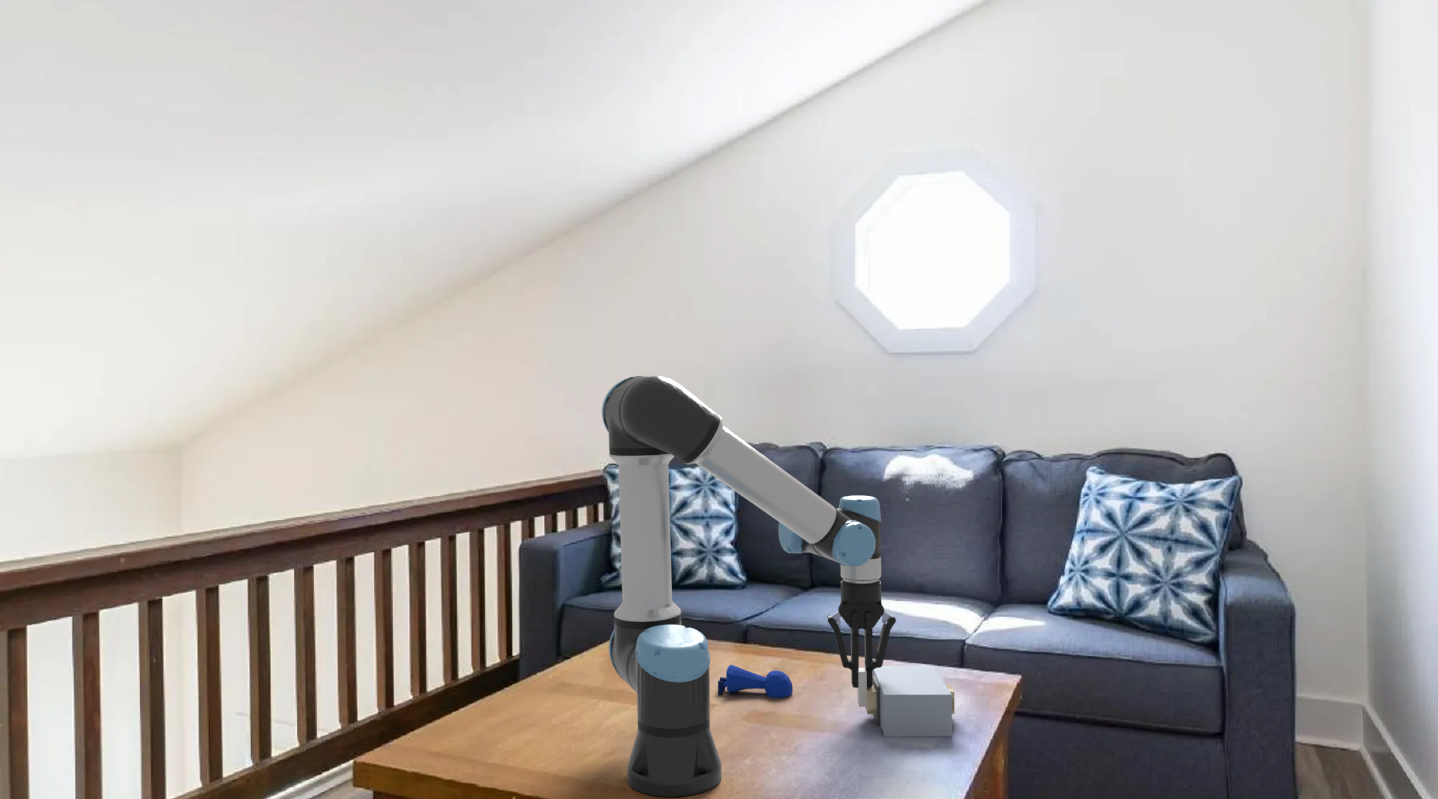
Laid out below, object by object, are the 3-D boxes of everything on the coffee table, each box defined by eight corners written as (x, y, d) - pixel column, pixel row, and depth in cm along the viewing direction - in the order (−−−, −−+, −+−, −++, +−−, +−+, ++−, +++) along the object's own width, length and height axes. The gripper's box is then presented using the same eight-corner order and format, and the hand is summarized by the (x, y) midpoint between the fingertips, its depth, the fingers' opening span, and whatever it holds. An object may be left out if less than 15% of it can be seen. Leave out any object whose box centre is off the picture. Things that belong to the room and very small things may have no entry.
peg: (954, 714, 187) (954, 691, 187) (867, 714, 187) (867, 691, 187) (950, 706, 191) (949, 684, 191) (865, 706, 192) (864, 684, 191)
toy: (717, 700, 204) (791, 700, 202) (715, 670, 204) (789, 669, 202) (722, 690, 211) (794, 690, 208) (721, 660, 211) (792, 660, 208)
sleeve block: (952, 736, 180) (951, 694, 180) (880, 736, 180) (880, 694, 180) (934, 703, 198) (933, 665, 198) (869, 703, 198) (869, 665, 198)
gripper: (893, 574, 193) (894, 697, 193) (824, 575, 193) (825, 698, 194) (898, 582, 185) (900, 710, 186) (827, 583, 185) (828, 711, 186)
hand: (862, 704), depth 190 cm, fingers closed
